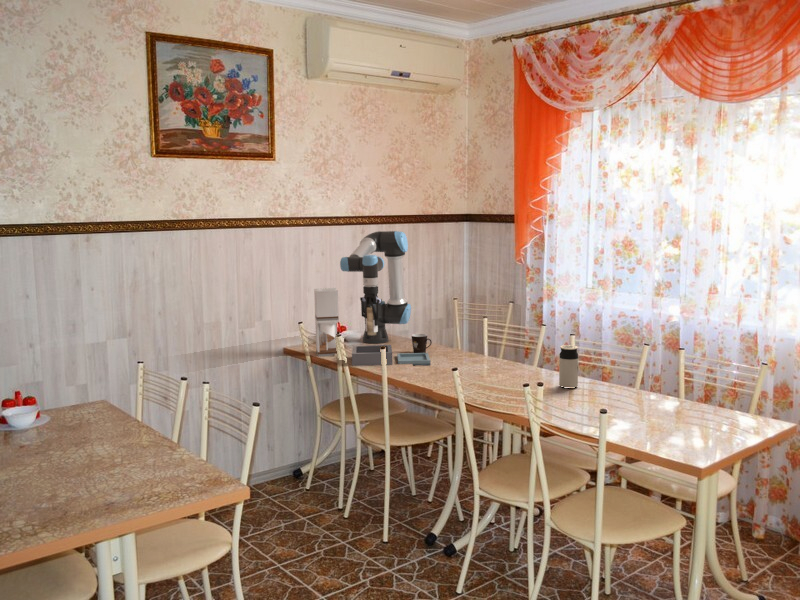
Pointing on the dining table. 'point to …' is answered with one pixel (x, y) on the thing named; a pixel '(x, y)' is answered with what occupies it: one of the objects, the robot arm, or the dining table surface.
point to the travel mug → (568, 366)
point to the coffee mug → (420, 343)
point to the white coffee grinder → (326, 320)
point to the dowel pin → (370, 321)
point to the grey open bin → (370, 355)
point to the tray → (413, 358)
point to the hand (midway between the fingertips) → (371, 331)
